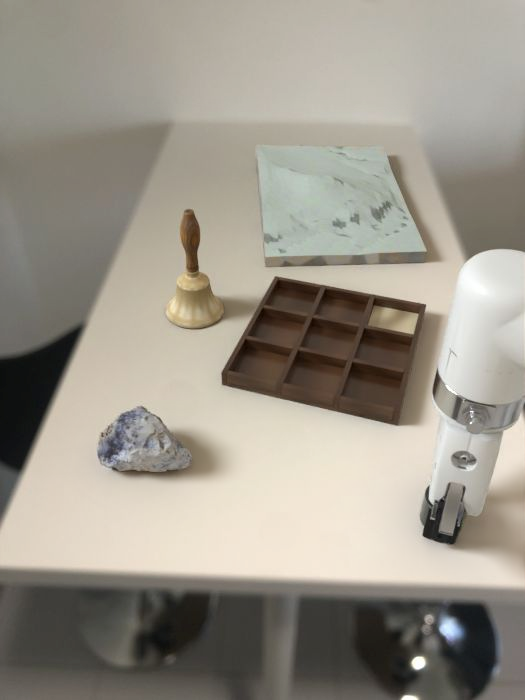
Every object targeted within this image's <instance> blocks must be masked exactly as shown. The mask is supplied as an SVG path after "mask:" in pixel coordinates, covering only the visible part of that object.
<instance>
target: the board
mask: <svg viewBox="0 0 525 700" xmlns="http://www.w3.org/2000/svg"><path fill="white" fill-rule="evenodd" d="M426 309H427V303H421V302H416V301H410V300H406V299H405V300H404V299H401V298H394V297H389V296H384V295H379V294H373V293H368V292H362V291H358V290H352V289H346V288H340V287H336V286H330V285H327V284H326V285H325V284H321V283H315V282H310V281H309V282H308V281H303V280H299V279H293V278H287V277H284V276H277V275H275V276H274V278H273V279H272V281H271V283H270V284H269V285H268V288H267V290H266V291H265V293H264V295H263V297H262V299H261V300H260V302H259V305H258V306H257V308H256V310H255V311H254V313H253V315H252V317H251V318H250V320H249V322H248V324H247V326H246V327H245V329H244V331H243V333H242V335H241V336H240V338H239V340H238V342H237V344H236V345H235V346H234V349H233V351H232V353H231V355H230V356H229V358H228V360H227V362H226V363H225V365H224V367H223V369H221V370H222V371H221V372H220V375H221V376H220V377H221V385H222V386H226V387H231V388H234V389H238V390H243V391H248V392H251V393H255V394H260V395H264V396H269V397H273V398H277V399H282V400H286V401H291V402H293V403H299V404H304V405H306V406H307V405H308V406H311V407H316V408H319V409H325V410H328V411H334V412H338V413H342V414H346V415H351V416H355V417H358V418H363V419H367V420H372V421H377V422H380V423H385V424H389V425H393V426H398V425H399V421H400V417H401V414H402V410H403V409H402V408H403V405H404V401H405V396H406V392H407V388H408V384H409V381H410V376H411V371H412V368H413V364H414V360H415V355H416V351H417V349H418V348H417V347H418V343H419V340H420V335H421V331H422V327H423V323H424V320H425V319H424V318H425V314H426Z"/></svg>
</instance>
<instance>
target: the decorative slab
mask: <svg viewBox="0 0 525 700" xmlns="http://www.w3.org/2000/svg"><path fill="white" fill-rule="evenodd" d="M255 166H256V179H257V189H258V190H257V191H258V199H259V200H258V201H259V209H260V210H259V211H260V223H261V233H262V245H263V257H264V267H265V268H269V267H271V268H272V267H305V266H306V267H307V266H340V265H341V266H342V265H345V266H346V265H347V266H348V265H372V264H373V265H381V264H384V265H385V264H414V263H415V264H418V263H419V264H420V263H426V259H427V254H428V250H427V247H426V245H425V243H424V240H423V238H422V236H421V233H420V232H419V229H418V227H417V225H416V222H415V221H414V219H413V216H412V214H411V213H410V210H409V208H408V205H407V203H406V201H405V198H404V196H403V194H402V191H401V189H400V187H399V184H398V182H397V180H396V178H395V175H394V173H393V170H392V166H391V163H390V161H389V157H388V155H387V152H386V150H385V147H384V145H373V146H372V145H371V146H370V145H369V146H367V145H365V146H364V145H363V146H360V145H347V146H346V145H345V146H343V145H342V146H338V145H337V146H328V145H327V146H320V145H273V144H258V143H256V144H255Z"/></svg>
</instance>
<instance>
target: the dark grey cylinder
mask: <svg viewBox="0 0 525 700" xmlns="http://www.w3.org/2000/svg"><path fill="white" fill-rule="evenodd" d="M429 489H430V484H429V485H427V487H426V489H425V490H424V491H425V492H424V495H423V499H422V503H421V507H420V510H419V511H420V512H419V519H420V523H421V525H422V526H423V527H424V525H425V522H426V518H427V514H428V510H429V509H432V507H433V504H432V503H431V502H430V501H429ZM444 504H445V502H441V501H440V505H439V507H440V508H444ZM467 515H468V514H467V512H466V509H465V508H464V512H463V515H462V517H463V520H462V524H461V527H460V530H459V533H461V531H462V530H463V527H464V525H465V521H466V518H467Z"/></svg>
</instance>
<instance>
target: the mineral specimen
mask: <svg viewBox="0 0 525 700" xmlns="http://www.w3.org/2000/svg"><path fill="white" fill-rule="evenodd" d="M96 455H97V458H98V460H99V463H100V465H101V466H104V467H105V468H107V469H112V468H115V469H116V470H117V471H119V472H125V471H131V470H134V471H137V472H141V471H143V472H145V471H146V472H148V471H149V472H152V473H160V472H161V473H163V472H167V470H169V471H177V470H178V471H182V470H184V469H186V468H188V467H190V465H191V462H192V460H193V455H192V453H191V452H190V450H189V449H187V448H186V447H184V446H183V445H182V444H181V442H179V441H178V440H177V438H176V437H175V436H174V435H173V432H171V431H170V430H169V428H168V427H167V425H166V424H165V423H164V421H163V420H162V419H161V418H160V416H158V415H156V414H154V413H152V412H151V411H148V408H147V407H145V406H143V405H137V406H135V407H133V409H131V410H128V411H124V412H120V413H119V415H117V416H116V417H115V419H114V421H113V422H111V423H110V424H108V425H107V426H106V427H105V428H104V429H103V431H101V432H100V433H99V435H98V442H97V446H96Z"/></svg>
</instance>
